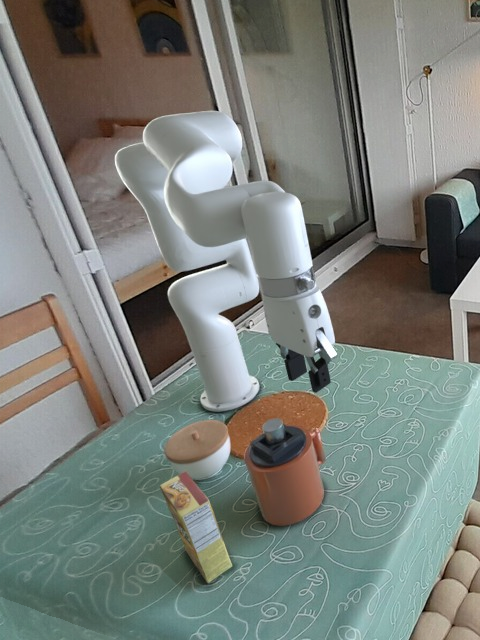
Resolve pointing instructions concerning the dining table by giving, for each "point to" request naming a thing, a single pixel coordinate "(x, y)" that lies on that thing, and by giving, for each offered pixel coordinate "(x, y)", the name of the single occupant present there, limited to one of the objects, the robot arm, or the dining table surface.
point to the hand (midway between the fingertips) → (309, 380)
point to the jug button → (274, 431)
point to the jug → (287, 475)
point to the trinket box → (199, 449)
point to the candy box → (196, 525)
